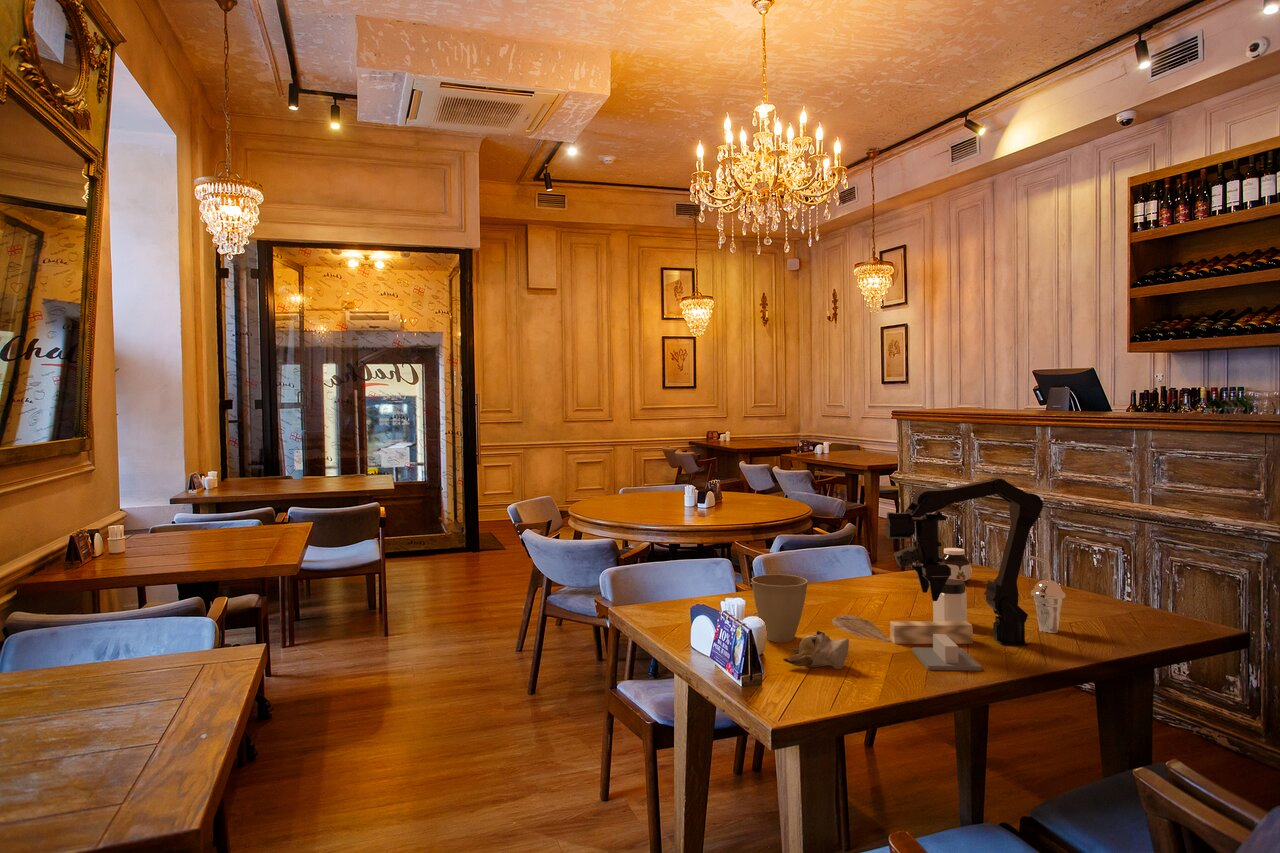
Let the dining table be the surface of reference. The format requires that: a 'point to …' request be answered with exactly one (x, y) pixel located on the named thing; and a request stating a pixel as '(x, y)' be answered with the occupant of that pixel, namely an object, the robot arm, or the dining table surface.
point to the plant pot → (779, 604)
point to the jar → (951, 602)
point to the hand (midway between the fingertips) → (929, 596)
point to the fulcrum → (945, 656)
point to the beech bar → (930, 631)
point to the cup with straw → (1047, 602)
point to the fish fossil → (859, 627)
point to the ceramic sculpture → (820, 651)
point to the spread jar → (957, 564)
